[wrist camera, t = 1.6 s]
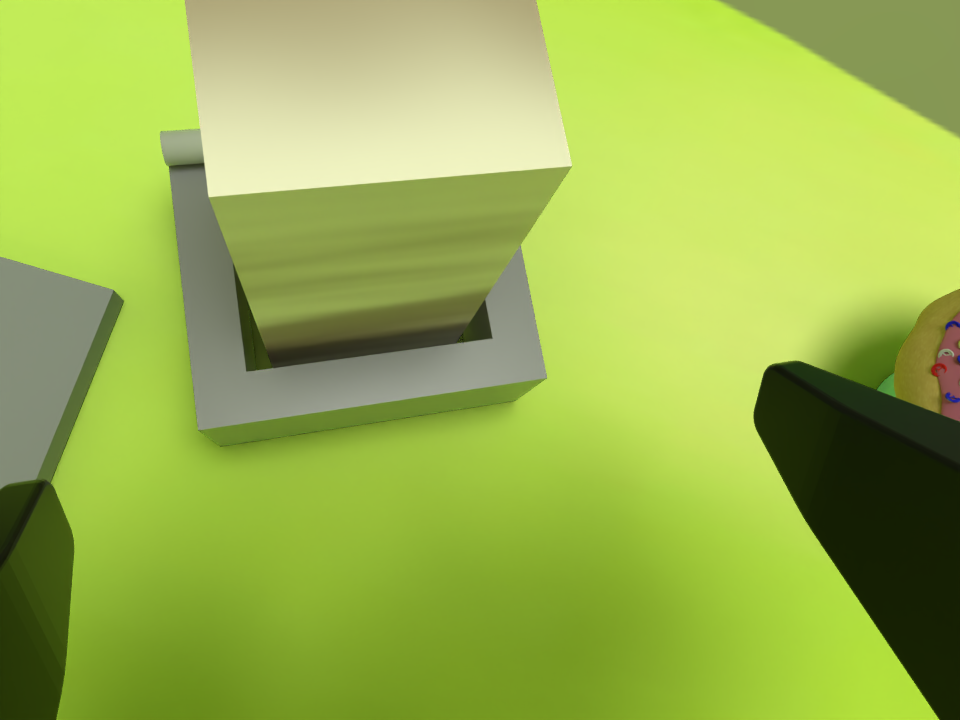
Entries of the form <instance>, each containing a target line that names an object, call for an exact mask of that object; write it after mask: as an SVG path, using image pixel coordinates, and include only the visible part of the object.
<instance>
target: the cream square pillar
mask: <svg viewBox="0 0 960 720" xmlns="http://www.w3.org/2000/svg"><path fill="white" fill-rule="evenodd" d="M185 6H186V14H187V22H188V31H189V39H190V47H191V56H192V64H193V72H194V80H195V89H196V97H197V105H198V114H199V122H200V130H201V139H202V147H203V155H204V163H205V172H206V180H207V188H208V197H209V200H210V202H211V205H212V208H213V210H214V213H215V216H216V218H217V221H218V224H219V226H220V229H221V232H222V234H223V237H224V239H225V242H226V245H227V247H228V250H229V253H230V255H231V258H232V261H233V263H234V266H235V269H236V271H237V274H238V277H239V279H240V282H241V285H242V287H243V290H244V293H245V295H246V298H247V301H248V303H249V306H250V309H251V311H252V314H253V317H254V319H255V322H256V325H257V327H258V330H259V333H260V335H261V338H262V340H263V343H264V346H265V348H266V351H267V354H268V356H269V359H270V362H271V364H272V367H273V368H279V367H286V366H293V365H301V364H308V363H316V362H323V361H330V360H338V359H345V358H353V357H360V356H367V355H375V354H382V353H390V352H397V351H404V350H412V349H419V348H427V347H434V346H441V345H449V344H456V343H457V341H458V340H459V338H460V336H461V335H462V333H463V332H464V330H465V329H466V327H467V326H468V324H469V323H470V321H471V320H472V318H473V317H474V315H475V314H476V312H477V311H478V309H479V307H480V306H481V304H482V303H483V301H484V300H485V298H486V297H487V295H488V294H489V292H490V291H491V289H492V288H493V286H494V285H495V283H496V282H497V280H498V278H499V277H500V275H501V274H502V272H503V271H504V269H505V268H506V266H507V265H508V263H509V262H510V260H511V259H512V257H513V256H514V254H515V253H516V251H517V250H518V248H519V246H520V245H521V243H522V242H523V240H524V239H525V237H526V236H527V234H528V233H529V231H530V230H531V228H532V227H533V225H534V224H535V222H536V221H537V219H538V217H539V216H540V214H541V213H542V211H543V210H544V208H545V207H546V205H547V204H548V202H549V201H550V199H551V198H552V196H553V195H554V193H555V192H556V190H557V189H558V187H559V185H560V184H561V182H562V181H563V179H564V178H565V176H566V175H567V173H568V172H569V170H570V169H571V167H572V163H571V158H570V154H569V149H568V145H567V140H566V135H565V131H564V126H563V122H562V117H561V113H560V108H559V103H558V99H557V94H556V90H555V85H554V80H553V76H552V71H551V67H550V62H549V57H548V53H547V48H546V44H545V39H544V34H543V30H542V25H541V21H540V16H539V12H538V7H537V2H536V0H185Z"/></svg>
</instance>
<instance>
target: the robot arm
mask: <svg viewBox="0 0 960 720" xmlns="http://www.w3.org/2000/svg"><path fill="white" fill-rule="evenodd" d="M754 424H755V427H756V430H757V432H758V434H759V436H760V438H761V440H762V441H763V443H764V445H765V447H766V449H767V451H768V453H769V455H770V456H771V458H772V460H773V462H774V464H775V466H776V468H777V470H778V471H779V473H780V475H781V477H782V479H783V481H784V483H785V485H786V486H787V488H788V490H789V492H790V494H791V496H792V498H793V500H794V501H795V503H796V505H797V507H798V509H799V510H800V512H801V514H802V516H803V517H804V519H805V521H806V522H807V524H808V525H809V527H810V529H811V530H812V532H813V533H814V535H815V536H816V538H817V539H818V541H819V542H820V544H821V545H822V547H823V548H824V550H825V551H826V553H827V554H828V556H829V557H830V558H831V560H832V561H833V563H834V564H835V566H836V567H837V569H838V570H839V572H840V573H841V575H842V576H843V578H844V579H845V581H846V582H847V584H848V585H849V587H850V588H851V590H852V591H853V593H854V594H855V596H856V597H857V598H858V600H859V601H860V603H861V604H862V606H863V607H864V609H865V610H866V612H867V613H868V615H869V616H870V618H871V619H872V621H873V622H874V624H875V625H876V627H877V628H878V630H879V631H880V633H881V634H882V636H883V637H884V638H885V640H886V641H887V643H888V644H889V646H890V647H891V649H892V650H893V652H894V653H895V655H896V656H897V658H898V659H899V661H900V662H901V664H902V665H903V667H904V668H905V670H906V671H907V673H908V674H909V675H910V677H911V678H912V680H913V681H914V683H915V684H916V686H917V687H918V689H919V690H920V692H921V693H922V695H923V696H924V698H925V699H926V701H927V702H928V704H929V705H930V707H931V708H932V710H933V711H934V713H935V714H936V715H937V717H938V718H939V720H960V421H957V420H955V419H952V418H949V417H947V416H944V415H941V414H939V413H936V412H933V411H931V410H928V409H925V408H923V407H920V406H918V405H915V404H912V403H910V402H907V401H904V400H902V399H899V398H896V397H894V396H891V395H888V394H886V393H883V392H880V391H878V390H875V389H873V388H870V387H867V386H865V385H862V384H859V383H857V382H854V381H851V380H849V379H846V378H843V377H841V376H838V375H835V374H833V373H830V372H827V371H825V370H822V369H820V368H817V367H814V366H812V365H809V364H806V363H804V362H801V361H788V362H782V363H775V364H772V365H770V366H768V367H767V369H766V370H765V372H764V374H763V378H762V382H761V385H760V389H759V393H758V397H757V401H756V405H755V409H754ZM73 560H74V540H73V534H72V530H71V528H70V525H69V523H68V520H67V518H66V516H65V513H64V511H63V508H62V506H61V503H60V501H59V499H58V496H57V494H56V491H55V489H54V487H53V485H52V484H51V483H50V482H49V481H48V480H45V479H35V480H28V481H22V482H15V483H10V484H7V485H5V486H4V487H2V488H1V489H0V720H56V718H57V713H58V708H59V703H60V698H61V693H62V687H63V681H64V675H65V665H66V655H67V642H68V628H69V614H70V601H71V587H72V573H73Z"/></svg>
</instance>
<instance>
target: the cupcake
mask: <svg viewBox="0 0 960 720" xmlns="http://www.w3.org/2000/svg"><path fill="white" fill-rule="evenodd" d="M877 390H878V391H880V392H883V393H886V394H888V395H891V396H894V397H896V398H899V399H902V400H904V401H907V402H910V403H912V404H915V405H918V406H920V407H923V408H925V409H928V410H931V411H933V412H936V413H939V414H941V415H944V416H947V417H949V418H952V419H955V420H957V421H960V289H958V290H956V291H953V292H951V293H949V294H947V295H945V296H943V297H941V298H939V299H937V300H935V301H934V302H932V303H931V304H930V305H928V306H927V307H926V308H925V309H924V310H923V311H922V313H921V314H920V316H919V317H918V320H917V322H916V324H915V326H914V328H913V330H912V331H911V333H910V334H909V335H908V337H907V339H906V340H905V342H904V343H903V345H902V346H901V348H900V350H899V352H898V355H897V358H896V363H895V370H894V373H893V374H892V375H890V376H889V377H888V378H887V379H885V380H884V381H883V382H882V383H881V385H880V386H879V387H878V389H877Z"/></svg>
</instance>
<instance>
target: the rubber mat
mask: <svg viewBox="0 0 960 720" xmlns="http://www.w3.org/2000/svg"><path fill="white" fill-rule="evenodd" d="M123 302H124V301H123V300H122V299H121V297H120V296H119V295H118V294H117V293H116V292H115V291H114V290H112V289H108V288H105V287H102V286H98V285H95V284H91V283H88V282H85V281H81V280H78V279H74V278H71V277H67V276H64V275H61V274H57V273H54V272H50V271H47V270H44V269H40V268H37V267H33V266H30V265H27V264H23V263H20V262H16V261H13V260H10V259H6V258H3V257H0V489H1V488H2V487H4V486H5V485H7V484H10V483H15V482H22V481H28V480H35V479H45V480H48V481H49V482H51V480H52V477H53V475H54V472H55V470H56V467H57V465H58V462H59V460H60V458H61V455H62V453H63V450H64V448H65V445H66V443H67V440H68V438H69V435H70V433H71V430H72V428H73V425H74V423H75V420H76V418H77V415H78V413H79V411H80V408H81V406H82V403H83V401H84V398H85V396H86V393H87V391H88V388H89V386H90V383H91V381H92V378H93V376H94V373H95V371H96V369H97V366H98V364H99V361H100V359H101V356H102V354H103V351H104V349H105V346H106V344H107V341H108V339H109V336H110V334H111V331H112V329H113V326H114V324H115V322H116V319H117V317H118V314H119V312H120V309H121V307H122V304H123Z"/></svg>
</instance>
